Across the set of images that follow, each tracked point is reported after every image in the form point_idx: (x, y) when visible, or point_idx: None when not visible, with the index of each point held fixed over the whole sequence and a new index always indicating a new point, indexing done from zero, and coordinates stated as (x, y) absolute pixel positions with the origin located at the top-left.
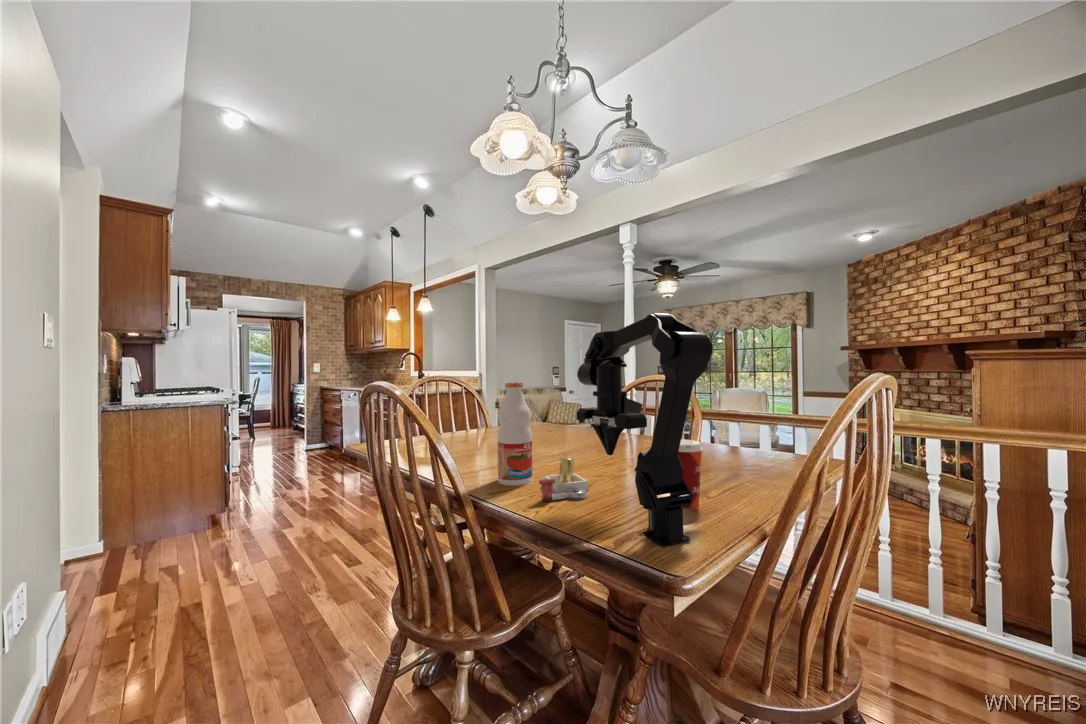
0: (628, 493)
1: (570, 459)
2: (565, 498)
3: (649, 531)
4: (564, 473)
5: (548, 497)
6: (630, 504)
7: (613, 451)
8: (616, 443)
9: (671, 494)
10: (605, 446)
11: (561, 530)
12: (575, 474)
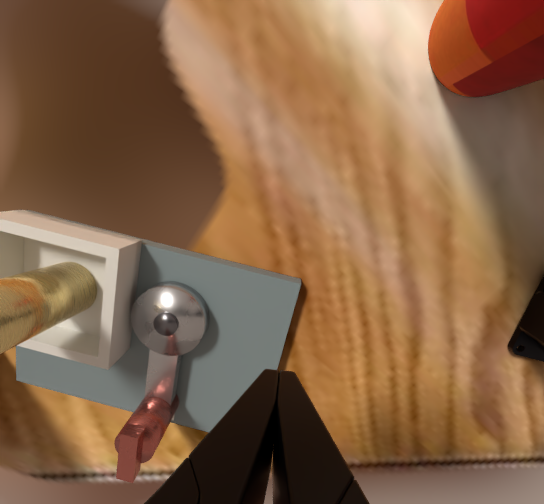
0: (212, 92)
1: None
2: (180, 358)
3: (531, 339)
4: (45, 329)
5: (172, 417)
6: (312, 187)
7: (303, 393)
8: (337, 451)
9: (492, 79)
10: (263, 494)
11: None
12: (7, 225)
